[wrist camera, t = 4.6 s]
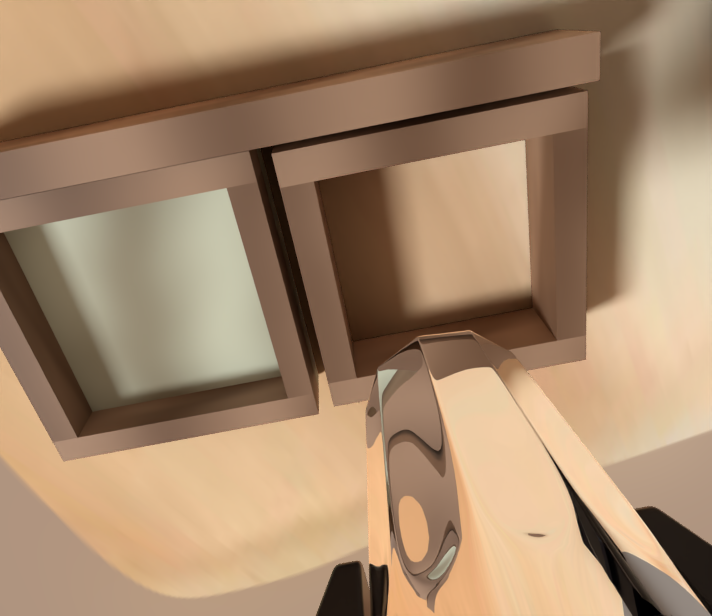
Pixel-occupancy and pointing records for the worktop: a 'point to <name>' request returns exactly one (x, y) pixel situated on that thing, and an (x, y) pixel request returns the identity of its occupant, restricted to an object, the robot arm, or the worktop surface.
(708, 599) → the robot arm
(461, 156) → the worktop surface
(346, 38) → the worktop surface
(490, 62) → the divided wooden tray
